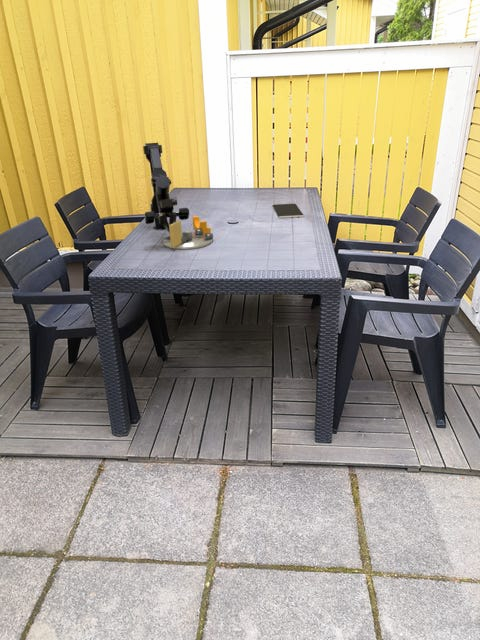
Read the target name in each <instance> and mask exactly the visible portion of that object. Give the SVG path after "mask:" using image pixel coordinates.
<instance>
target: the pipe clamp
mask: <svg viewBox="0 0 480 640" xmlns="http://www.w3.org/2000/svg"><path fill="white" fill-rule="evenodd" d="M198 228H201V229H203V233H205V234H206V233H212V232H211V227H210V226H208V225H207V221H206V220H200V217H199V216H198V215H195V216H192V229H193V231H195V229H198Z"/></svg>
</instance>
